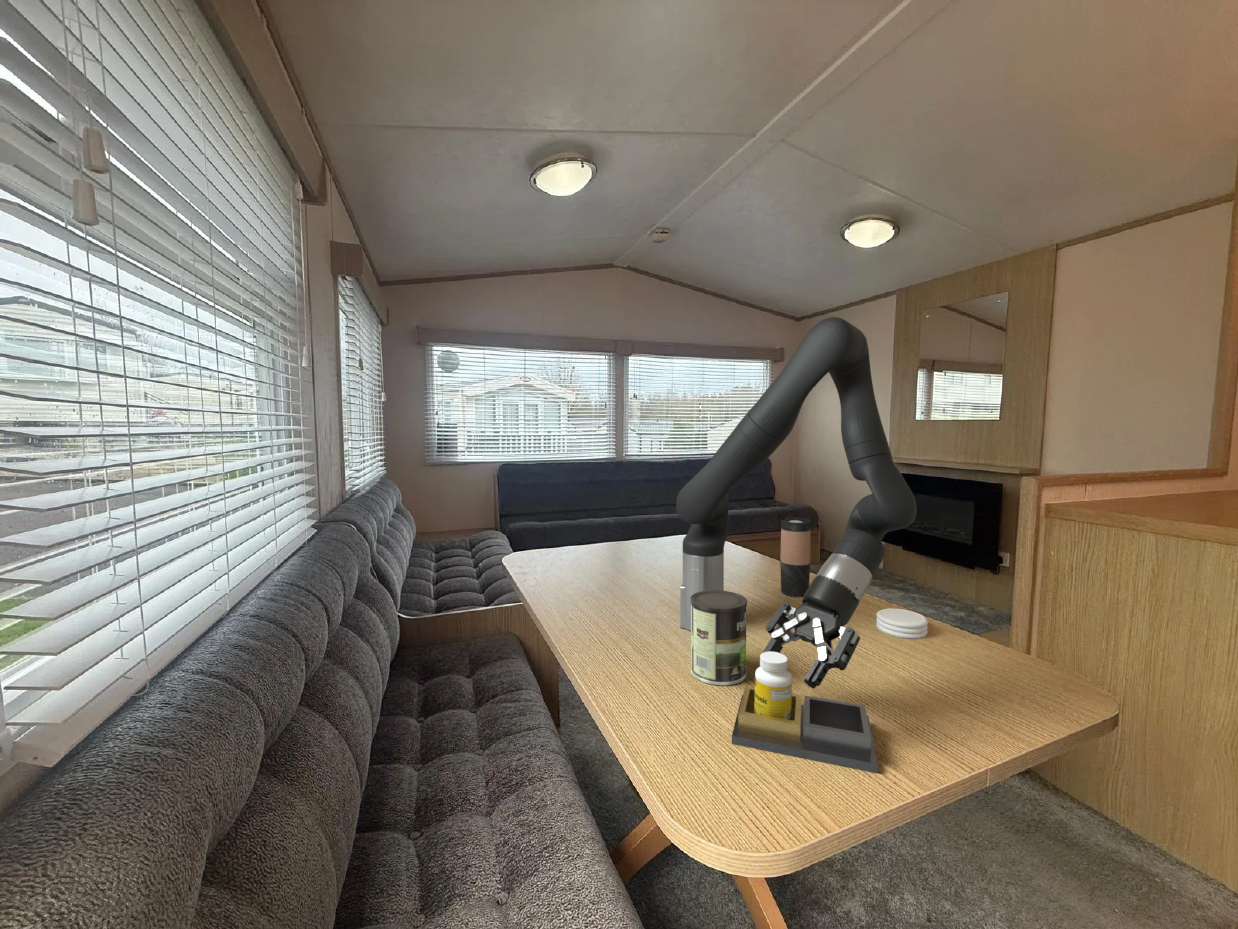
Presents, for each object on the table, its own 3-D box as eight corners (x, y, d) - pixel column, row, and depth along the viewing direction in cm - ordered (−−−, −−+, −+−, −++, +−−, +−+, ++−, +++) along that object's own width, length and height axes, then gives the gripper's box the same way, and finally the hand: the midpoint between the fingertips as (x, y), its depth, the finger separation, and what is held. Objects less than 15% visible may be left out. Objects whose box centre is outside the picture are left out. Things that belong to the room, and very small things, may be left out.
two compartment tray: (731, 743, 75) (731, 719, 75) (742, 701, 86) (742, 680, 86) (877, 773, 68) (878, 746, 68) (868, 723, 80) (868, 700, 79)
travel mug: (813, 597, 137) (815, 522, 136) (784, 597, 137) (785, 522, 136) (804, 588, 145) (805, 517, 143) (776, 588, 145) (777, 517, 143)
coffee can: (749, 664, 100) (750, 592, 99) (742, 690, 90) (743, 611, 89) (696, 656, 103) (696, 587, 102) (684, 680, 94) (684, 604, 92)
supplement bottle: (749, 710, 81) (750, 649, 81) (783, 709, 82) (785, 648, 81) (760, 730, 76) (762, 665, 75) (796, 729, 76) (799, 664, 76)
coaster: (938, 638, 111) (938, 622, 111) (895, 641, 110) (896, 625, 109) (906, 621, 121) (906, 606, 121) (866, 623, 120) (867, 609, 119)
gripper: (792, 564, 89) (741, 643, 85) (867, 586, 77) (812, 680, 72) (813, 589, 92) (765, 667, 88) (888, 615, 80) (836, 707, 75)
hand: (786, 673), depth 80 cm, fingers open, 8 cm apart
